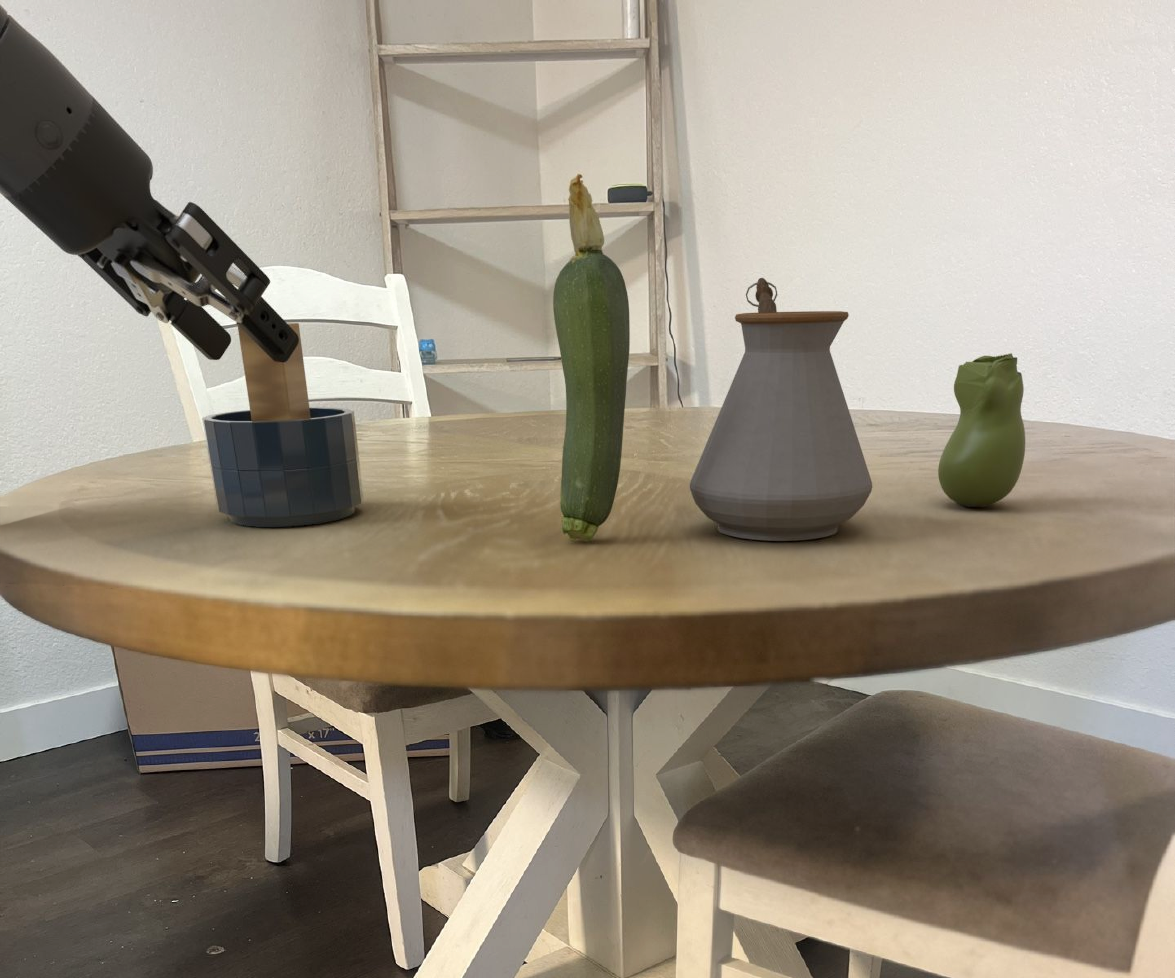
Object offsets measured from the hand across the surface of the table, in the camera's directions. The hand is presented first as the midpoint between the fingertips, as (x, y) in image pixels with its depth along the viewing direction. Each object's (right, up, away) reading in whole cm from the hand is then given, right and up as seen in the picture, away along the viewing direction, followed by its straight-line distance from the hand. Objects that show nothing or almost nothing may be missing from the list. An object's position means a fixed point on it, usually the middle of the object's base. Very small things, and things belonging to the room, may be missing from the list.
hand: (255, 351), depth 71 cm
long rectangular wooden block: (+1, -9, +5) cm, 10 cm away
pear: (+50, -10, +3) cm, 51 cm away
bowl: (+1, -10, +5) cm, 11 cm away
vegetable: (+23, -14, -5) cm, 28 cm away
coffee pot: (+35, -11, +2) cm, 37 cm away
